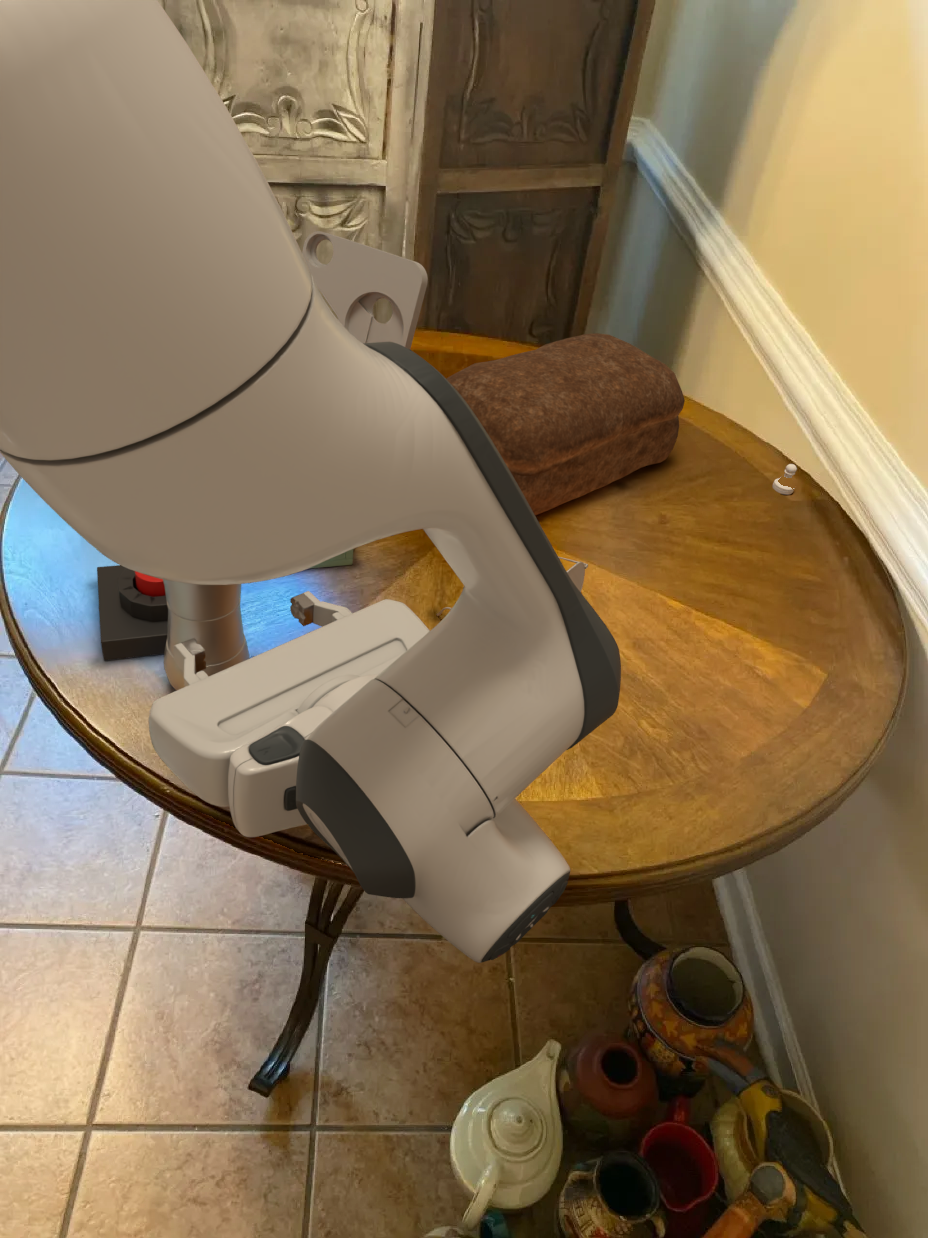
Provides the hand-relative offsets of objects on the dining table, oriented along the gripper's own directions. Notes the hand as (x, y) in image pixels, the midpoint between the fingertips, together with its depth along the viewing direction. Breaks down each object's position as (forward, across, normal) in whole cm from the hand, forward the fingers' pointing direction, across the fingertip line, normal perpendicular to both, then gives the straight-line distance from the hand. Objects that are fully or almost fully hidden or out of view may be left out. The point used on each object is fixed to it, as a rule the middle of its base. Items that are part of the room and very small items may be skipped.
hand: (243, 623), depth 66 cm
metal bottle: (+6, 0, +11) cm, 13 cm away
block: (+15, -1, +11) cm, 19 cm away
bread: (+16, -52, +11) cm, 55 cm away
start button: (+15, -1, +7) cm, 17 cm away
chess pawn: (-4, -74, +11) cm, 74 cm away
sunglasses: (-1, -29, +11) cm, 31 cm away
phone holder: (+40, -39, +11) cm, 57 cm away
